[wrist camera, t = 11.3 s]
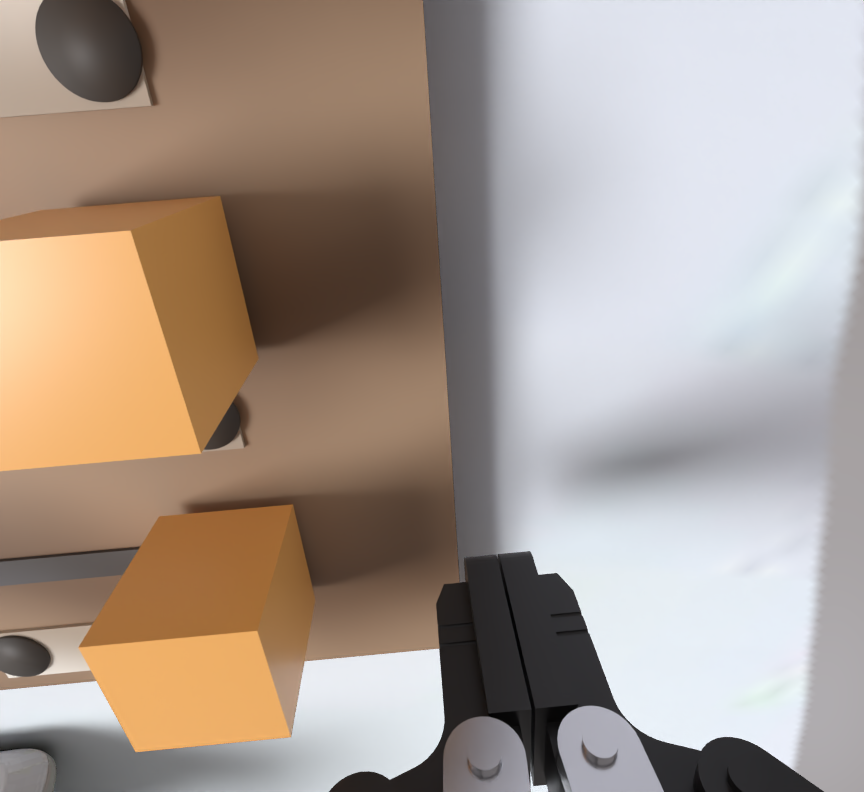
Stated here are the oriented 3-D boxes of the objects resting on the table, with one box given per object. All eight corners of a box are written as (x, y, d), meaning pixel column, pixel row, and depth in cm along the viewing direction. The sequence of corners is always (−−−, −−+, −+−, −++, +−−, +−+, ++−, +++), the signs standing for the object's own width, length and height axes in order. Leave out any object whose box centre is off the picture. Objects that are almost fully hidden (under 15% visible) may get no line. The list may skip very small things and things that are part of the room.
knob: (159, 516, 13) (78, 647, 10) (292, 504, 13) (256, 630, 10) (195, 610, 14) (135, 752, 11) (315, 599, 14) (290, 737, 11)
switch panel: (-911, -588, 7) (-1297, -799, 5) (375, -657, 7) (368, -877, 5) (-39, 652, 17) (-82, 704, 16) (458, 606, 17) (464, 652, 16)
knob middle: (41, 209, 10) (-140, 252, 6) (219, 195, 10) (130, 230, 6) (103, 371, 11) (-18, 473, 8) (258, 358, 11) (201, 453, 8)
